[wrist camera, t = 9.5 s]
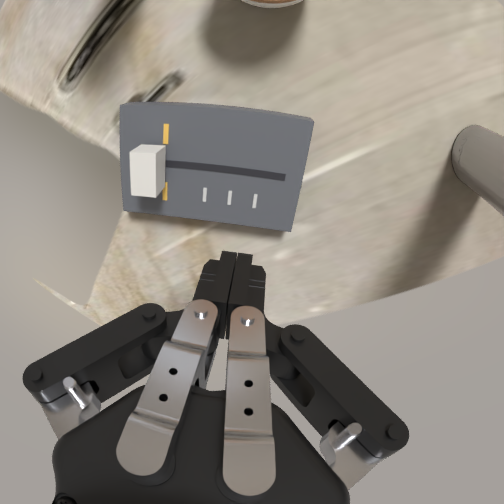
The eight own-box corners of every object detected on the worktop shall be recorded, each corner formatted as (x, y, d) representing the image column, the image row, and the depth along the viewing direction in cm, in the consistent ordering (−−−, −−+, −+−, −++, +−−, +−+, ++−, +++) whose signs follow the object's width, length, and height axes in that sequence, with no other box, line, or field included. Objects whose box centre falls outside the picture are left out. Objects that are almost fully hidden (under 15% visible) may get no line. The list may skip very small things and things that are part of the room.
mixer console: (310, 117, 31) (314, 122, 29) (289, 220, 39) (290, 232, 37) (130, 102, 30) (119, 105, 28) (132, 201, 38) (123, 211, 36)
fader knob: (167, 143, 30) (155, 153, 27) (167, 183, 33) (156, 197, 30) (143, 142, 30) (129, 152, 27) (144, 181, 33) (131, 195, 30)
